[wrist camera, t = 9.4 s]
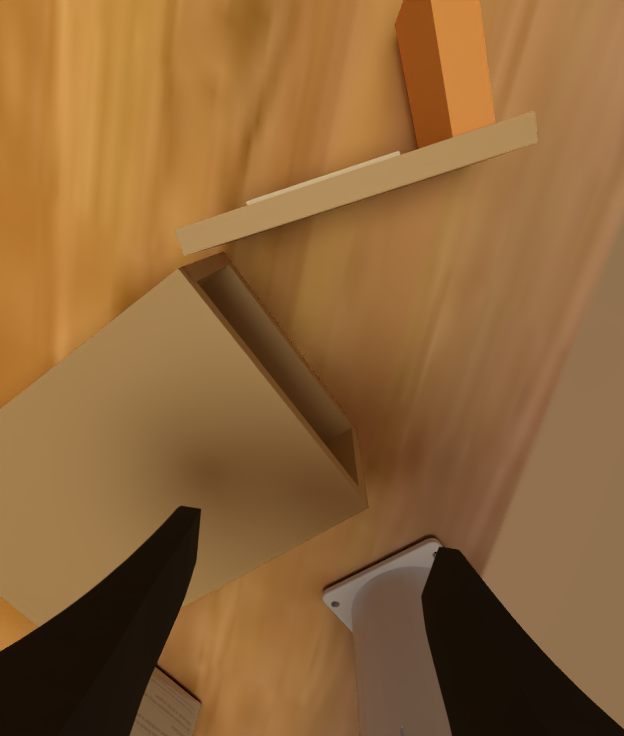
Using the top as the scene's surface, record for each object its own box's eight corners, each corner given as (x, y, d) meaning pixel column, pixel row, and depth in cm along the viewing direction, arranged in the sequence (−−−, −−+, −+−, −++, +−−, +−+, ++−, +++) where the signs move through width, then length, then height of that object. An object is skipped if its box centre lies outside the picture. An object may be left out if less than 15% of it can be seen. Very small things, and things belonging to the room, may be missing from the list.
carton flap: (448, 13, 15) (514, -97, 10) (470, 164, 17) (538, 142, 11) (178, 112, 16) (109, 64, 11) (225, 243, 18) (184, 255, 13)
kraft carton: (357, 430, 21) (368, 507, 16) (136, 560, 25) (82, 661, 19) (223, 251, 18) (178, 268, 13) (-5, 429, 22) (-119, 502, 16)
